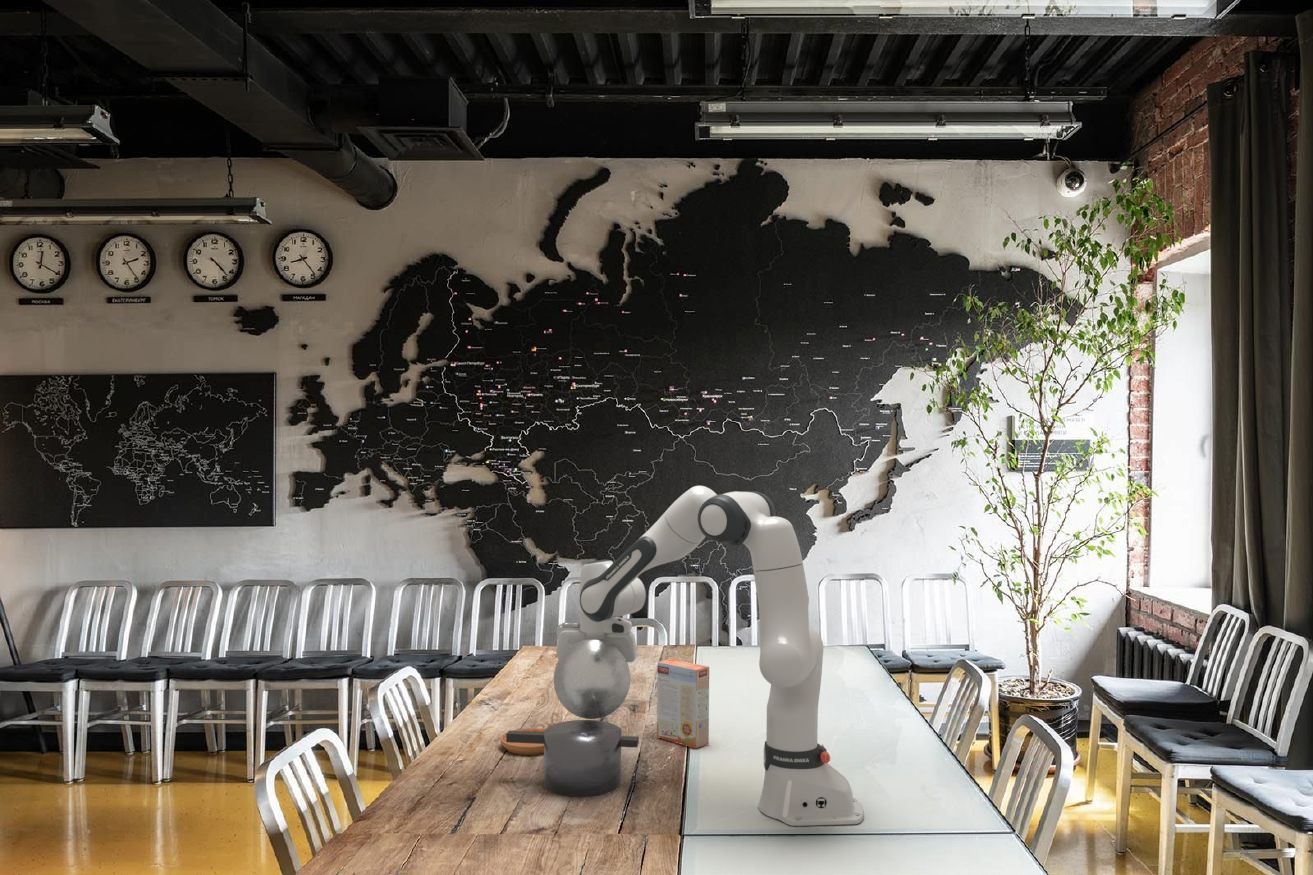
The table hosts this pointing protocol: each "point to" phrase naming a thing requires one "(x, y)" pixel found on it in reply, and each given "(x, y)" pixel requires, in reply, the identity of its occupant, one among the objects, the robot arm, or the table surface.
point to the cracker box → (683, 703)
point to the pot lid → (592, 679)
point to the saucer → (523, 744)
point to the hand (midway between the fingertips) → (596, 678)
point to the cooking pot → (579, 756)
